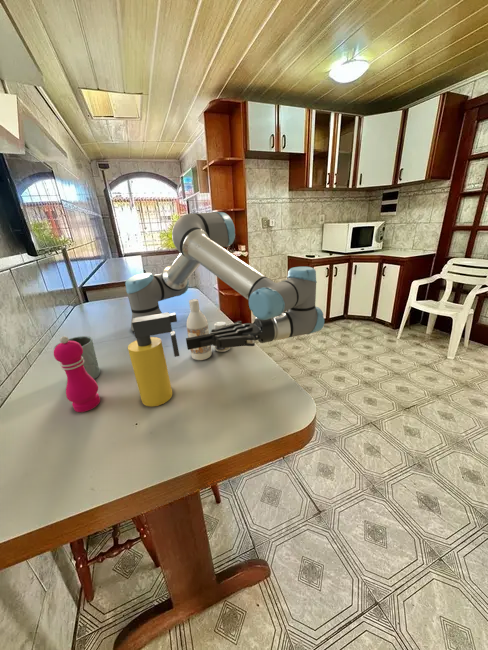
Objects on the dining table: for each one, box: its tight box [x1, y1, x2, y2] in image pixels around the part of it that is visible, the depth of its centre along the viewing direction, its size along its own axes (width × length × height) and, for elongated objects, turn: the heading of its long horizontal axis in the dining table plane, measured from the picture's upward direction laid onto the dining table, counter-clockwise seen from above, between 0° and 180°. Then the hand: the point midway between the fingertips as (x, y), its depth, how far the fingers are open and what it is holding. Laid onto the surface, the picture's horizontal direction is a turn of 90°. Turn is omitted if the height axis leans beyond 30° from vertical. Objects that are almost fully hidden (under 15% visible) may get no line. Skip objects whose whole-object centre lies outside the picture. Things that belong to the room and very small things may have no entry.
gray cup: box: [53, 335, 101, 380], centre depth 82 cm, size 10×10×12 cm
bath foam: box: [186, 298, 213, 361], centre depth 88 cm, size 7×7×20 cm
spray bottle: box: [127, 311, 178, 407], centre depth 68 cm, size 8×13×22 cm, turn 107°
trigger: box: [169, 330, 180, 358], centre depth 68 cm, size 3×1×6 cm, turn 17°
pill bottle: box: [214, 321, 231, 353], centre depth 94 cm, size 5×5×10 cm
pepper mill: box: [53, 335, 101, 413], centre depth 67 cm, size 7×7×20 cm
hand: (186, 344), depth 69 cm, fingers closed
